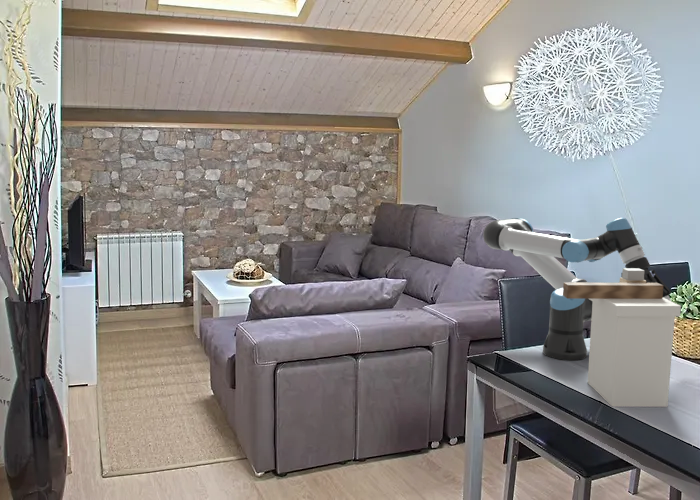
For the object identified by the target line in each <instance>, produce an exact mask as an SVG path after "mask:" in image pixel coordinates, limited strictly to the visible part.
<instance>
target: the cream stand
mask: <svg viewBox="0 0 700 500" xmlns="http://www.w3.org/2000/svg"><path fill="white" fill-rule="evenodd" d="M589 300H591V301H593V303H592V319H591V320H590V321H591V322H590V338H589V355H588V372H587V384H588V385H589V386H590V387H591V388H592V389H593V390H594V391H596V392H597V394H599V395H600V396H601V397H602V398H603V399H604V400H605V402H606V403H607V404H609V405H610V406H611V407H614V408H617V407H619V408H622V407H623V408H624V407H625V408H626V407H627V408H629V407H631V408H632V407H633V408H639V407H641V408H643V407H644V408H645V407H646V408H649V407H650V408H668V406H669V405H668V404H669V393H670V378H671V366H672V353H673V344H674V331H675V330H674V329H675V317H681V311H682V306H681V305H680V304H677V303H676V302H673V301H672V300H671V301H669V300H667V299H665V298H663V299H589Z"/></svg>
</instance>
